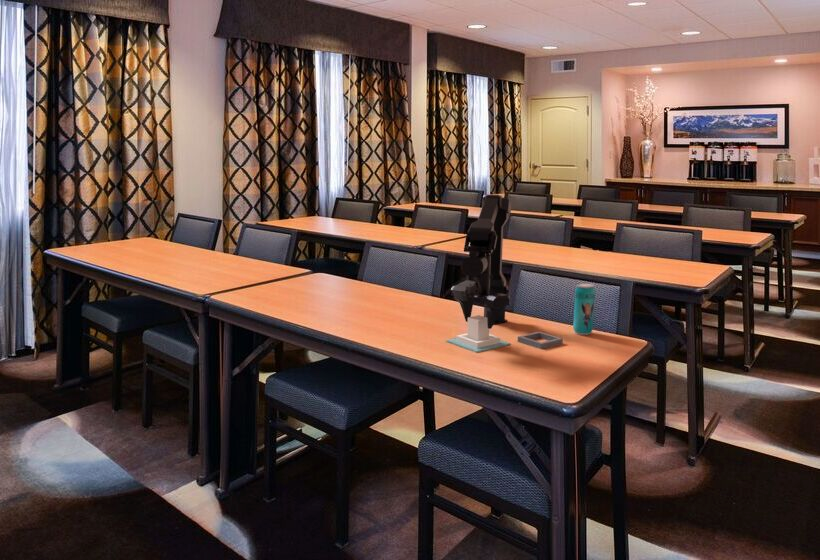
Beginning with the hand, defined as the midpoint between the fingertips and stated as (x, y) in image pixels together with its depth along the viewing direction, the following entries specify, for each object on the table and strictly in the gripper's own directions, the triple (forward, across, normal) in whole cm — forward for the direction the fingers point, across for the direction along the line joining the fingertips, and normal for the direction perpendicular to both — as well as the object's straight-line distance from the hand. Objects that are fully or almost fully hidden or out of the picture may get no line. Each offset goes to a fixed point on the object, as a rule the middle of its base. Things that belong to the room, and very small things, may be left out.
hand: (478, 324), depth 177 cm
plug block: (+5, 0, 0) cm, 5 cm away
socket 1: (+5, 0, 0) cm, 5 cm away
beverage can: (+6, +11, +33) cm, 35 cm away
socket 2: (+5, +10, +15) cm, 19 cm away
